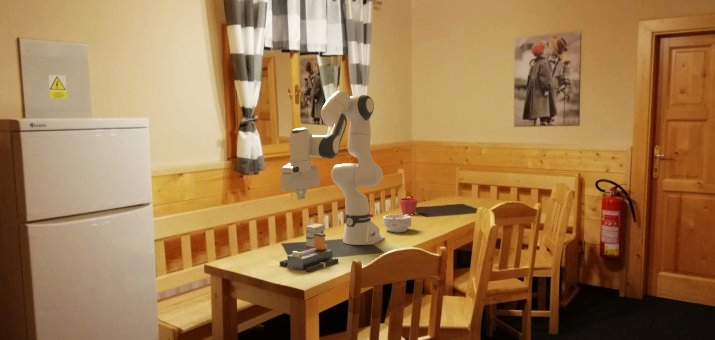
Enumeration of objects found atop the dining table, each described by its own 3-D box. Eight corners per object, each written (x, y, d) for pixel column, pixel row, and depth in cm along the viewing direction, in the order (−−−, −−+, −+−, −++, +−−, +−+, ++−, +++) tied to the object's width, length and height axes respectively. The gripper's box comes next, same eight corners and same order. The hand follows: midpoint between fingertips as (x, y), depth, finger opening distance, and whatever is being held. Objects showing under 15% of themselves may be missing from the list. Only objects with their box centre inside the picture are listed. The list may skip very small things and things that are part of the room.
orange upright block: (317, 247, 238) (317, 232, 237) (325, 249, 235) (325, 234, 234) (314, 248, 236) (313, 233, 235) (322, 250, 233) (322, 235, 232)
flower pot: (412, 216, 334) (412, 201, 333) (396, 215, 340) (396, 199, 339) (420, 213, 343) (420, 198, 342) (404, 212, 349) (404, 197, 348)
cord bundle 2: (334, 261, 234) (334, 257, 234) (338, 262, 233) (338, 258, 233) (305, 271, 221) (305, 267, 220) (309, 272, 219) (309, 268, 219)
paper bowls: (404, 226, 305) (404, 212, 304) (415, 232, 290) (415, 217, 289) (379, 229, 300) (379, 214, 299) (389, 234, 286) (389, 219, 285)
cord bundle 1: (309, 256, 244) (309, 252, 244) (315, 257, 242) (315, 253, 241) (279, 265, 230) (279, 261, 230) (285, 266, 228) (285, 262, 228)
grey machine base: (317, 258, 241) (316, 242, 240) (332, 261, 235) (332, 245, 235) (287, 267, 227) (287, 250, 226) (303, 271, 221) (302, 254, 221)
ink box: (314, 252, 250) (314, 227, 249) (305, 251, 253) (305, 226, 252) (324, 248, 258) (324, 223, 257) (315, 247, 260) (315, 223, 259)
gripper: (312, 164, 240) (312, 195, 241) (277, 168, 224) (278, 201, 225) (322, 164, 236) (323, 196, 237) (288, 169, 220) (289, 203, 222)
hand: (301, 199), depth 231 cm, fingers closed
